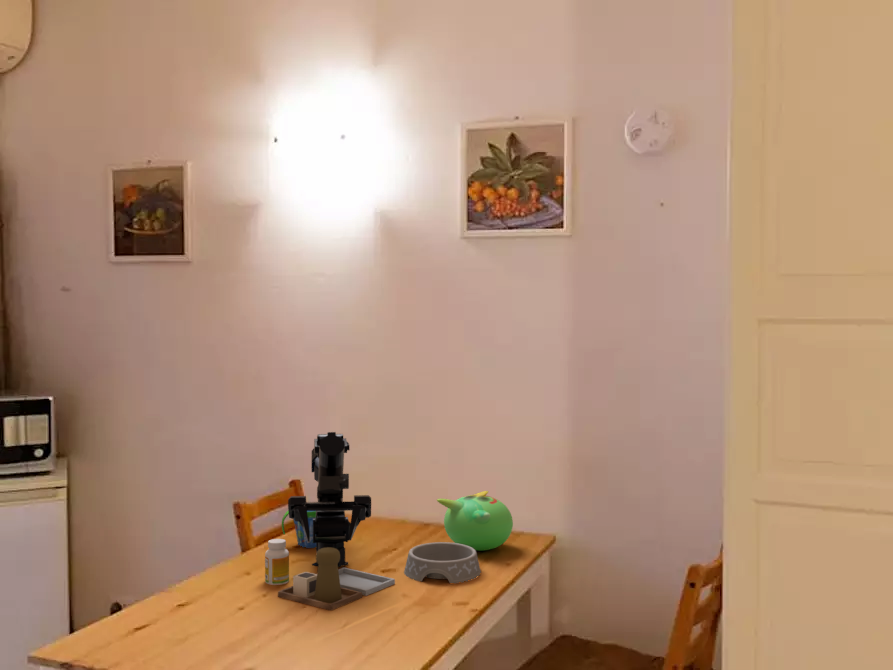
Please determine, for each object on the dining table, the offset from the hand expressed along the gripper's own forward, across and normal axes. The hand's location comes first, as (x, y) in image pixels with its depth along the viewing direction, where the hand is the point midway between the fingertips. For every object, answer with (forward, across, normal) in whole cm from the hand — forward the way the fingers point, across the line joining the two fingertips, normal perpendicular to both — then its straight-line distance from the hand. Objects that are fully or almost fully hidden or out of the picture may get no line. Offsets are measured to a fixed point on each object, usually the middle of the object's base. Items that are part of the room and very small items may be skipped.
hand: (329, 539), depth 215 cm
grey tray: (+6, +6, +10) cm, 13 cm away
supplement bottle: (+4, -12, +12) cm, 18 cm away
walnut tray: (+12, -2, +4) cm, 13 cm away
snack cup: (-18, -6, +35) cm, 39 cm away
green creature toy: (-13, +37, +30) cm, 49 cm away
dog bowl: (0, +26, +17) cm, 31 cm away
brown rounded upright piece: (+13, 0, +3) cm, 13 cm away
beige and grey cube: (+10, -5, +5) cm, 12 cm away
